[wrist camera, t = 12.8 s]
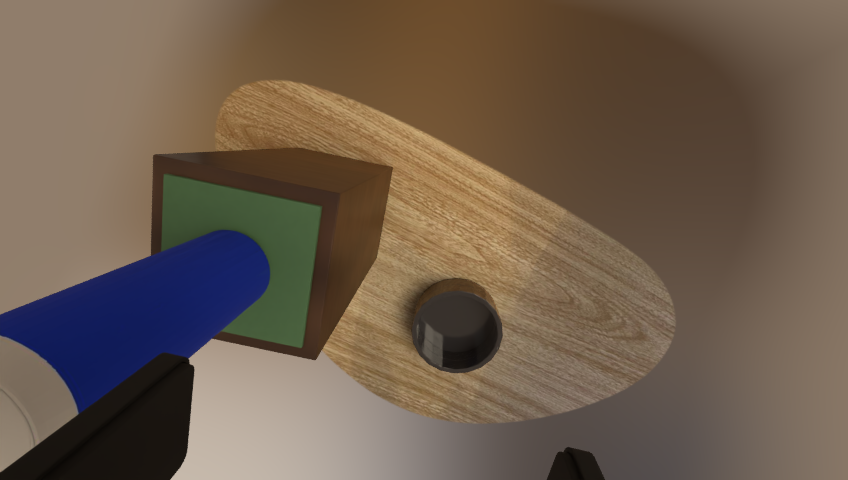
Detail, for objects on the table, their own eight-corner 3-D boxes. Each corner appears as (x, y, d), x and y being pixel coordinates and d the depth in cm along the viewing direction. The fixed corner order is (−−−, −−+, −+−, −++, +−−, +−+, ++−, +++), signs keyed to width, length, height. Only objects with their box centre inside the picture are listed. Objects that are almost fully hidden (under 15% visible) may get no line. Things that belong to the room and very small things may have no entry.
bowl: (423, 270, 52) (421, 282, 47) (506, 288, 52) (512, 301, 47) (407, 345, 55) (404, 363, 50) (486, 361, 55) (490, 381, 50)
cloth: (167, 173, 25) (163, 173, 24) (322, 205, 25) (320, 206, 24) (162, 315, 27) (158, 318, 27) (303, 345, 27) (301, 348, 27)
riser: (298, 147, 49) (152, 154, 24) (392, 167, 49) (340, 193, 24) (287, 239, 52) (148, 325, 27) (376, 257, 52) (315, 361, 27)
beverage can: (200, 219, 25) (-142, 328, 10) (279, 238, 25) (47, 373, 10) (193, 292, 26) (-120, 481, 12) (268, 310, 26) (50, 521, 12)
